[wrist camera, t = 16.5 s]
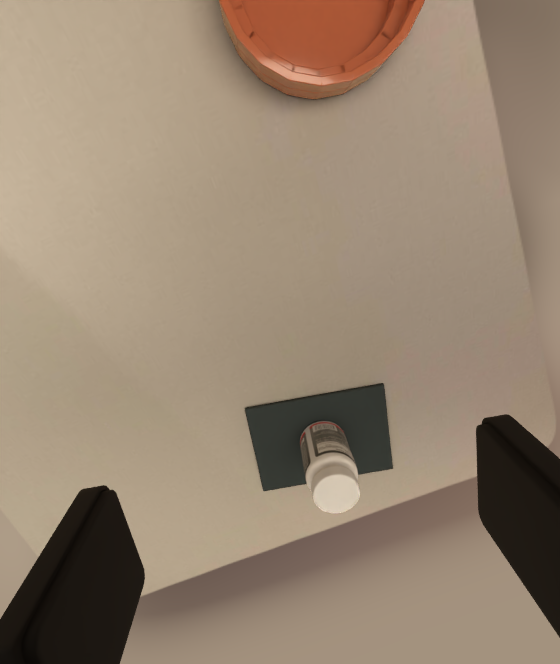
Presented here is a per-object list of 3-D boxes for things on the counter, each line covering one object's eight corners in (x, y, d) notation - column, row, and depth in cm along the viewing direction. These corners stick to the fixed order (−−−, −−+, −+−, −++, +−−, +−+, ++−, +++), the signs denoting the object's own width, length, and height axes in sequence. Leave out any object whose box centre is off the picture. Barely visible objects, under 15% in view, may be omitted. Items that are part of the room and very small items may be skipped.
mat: (383, 383, 41) (384, 384, 41) (391, 466, 44) (393, 468, 44) (245, 407, 41) (244, 409, 41) (263, 488, 44) (263, 491, 44)
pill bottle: (322, 467, 43) (336, 527, 35) (290, 441, 42) (296, 498, 34) (354, 437, 42) (376, 493, 34) (322, 410, 41) (336, 461, 33)
